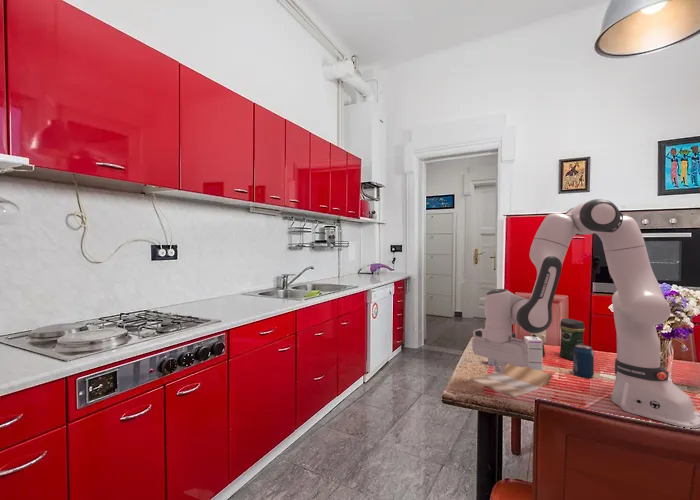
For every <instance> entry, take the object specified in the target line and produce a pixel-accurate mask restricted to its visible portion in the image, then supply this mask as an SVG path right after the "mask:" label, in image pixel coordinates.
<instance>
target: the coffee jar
mask: <svg viewBox="0 0 700 500" xmlns="http://www.w3.org/2000/svg"><path fill="white" fill-rule="evenodd" d="M559 326H560V331H561V334H560V335H561V337H560V338H561V339H560V347H559V348H560V351H559V355H560V357H562V358H564V359H567V360H570V361H573V349H574V347H575V345H585V343H584V334H585V333H584V332H585V329H586V328H585V322H584V321H581V320H577V319H573V318H562V319H561V320H560V324H559Z"/></svg>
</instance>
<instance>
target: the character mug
mask: <svg viewBox="0 0 700 500" xmlns="http://www.w3.org/2000/svg"><path fill="white" fill-rule="evenodd" d="M528 333H529V336H533V337H538V338H540V339H541V340H542V354H543V356H545V355H546V353H545V345H544V344H546V343H547V329H546V330H545V331H543V332H541V333H530V332H528Z"/></svg>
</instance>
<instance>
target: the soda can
mask: <svg viewBox="0 0 700 500" xmlns="http://www.w3.org/2000/svg"><path fill="white" fill-rule="evenodd" d="M594 355H595V352H594V350H593V347H592V346H591V345H587V344H584V345H575V347H574V349H573V360H572V371H573V373H574V374H575V375H574V376H577V377H579V378H585V379H591V378H592V377H593V376H594V373H595V370H594V367H595V365H594V363H595V361H594V359H595V358H594V357H595V356H594Z"/></svg>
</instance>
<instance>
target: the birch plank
mask: <svg viewBox="0 0 700 500" xmlns="http://www.w3.org/2000/svg"><path fill="white" fill-rule="evenodd" d="M469 381H471V382H473V383H475V384H478V385H480V386H484V387H485V388H488V389H491V390H494V391H496V392H497V393H501V394H503V395H505V396H508V397H511V398H513V399H516V398H518V397H521V396H524V395H526V394H528V393H529V392H525V391H523V390H520V389H517V388H515V387H512V386H509V385H507V384H504V383H501V382H498V381H496V380H493V379H490V378H488V377H485V375H483V376H482V375H481V376H477V377H471V378H470V379H469Z"/></svg>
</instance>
